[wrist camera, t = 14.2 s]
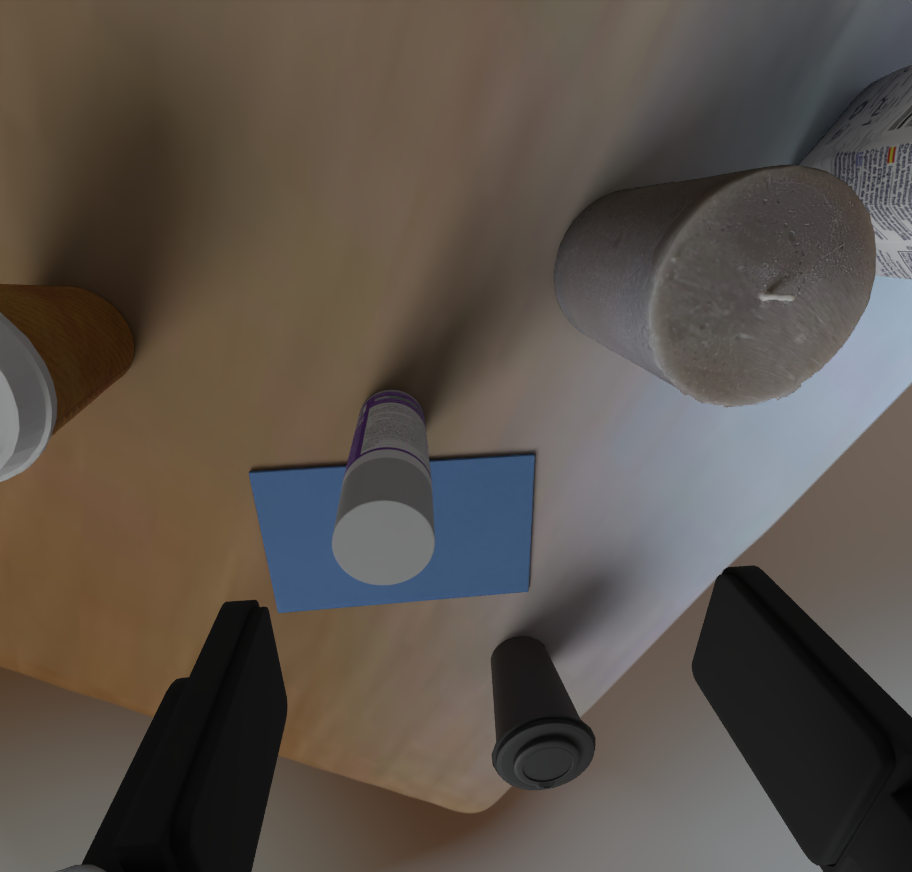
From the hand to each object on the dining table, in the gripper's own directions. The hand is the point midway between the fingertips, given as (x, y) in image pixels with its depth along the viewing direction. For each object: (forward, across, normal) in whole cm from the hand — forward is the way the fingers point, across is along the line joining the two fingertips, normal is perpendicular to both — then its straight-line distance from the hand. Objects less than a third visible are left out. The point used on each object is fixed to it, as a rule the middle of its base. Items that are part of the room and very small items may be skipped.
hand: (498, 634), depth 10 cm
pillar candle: (+25, -13, -5) cm, 29 cm away
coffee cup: (+24, -8, +30) cm, 39 cm away
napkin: (+25, +3, +15) cm, 29 cm away
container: (+25, +3, +6) cm, 26 cm away
